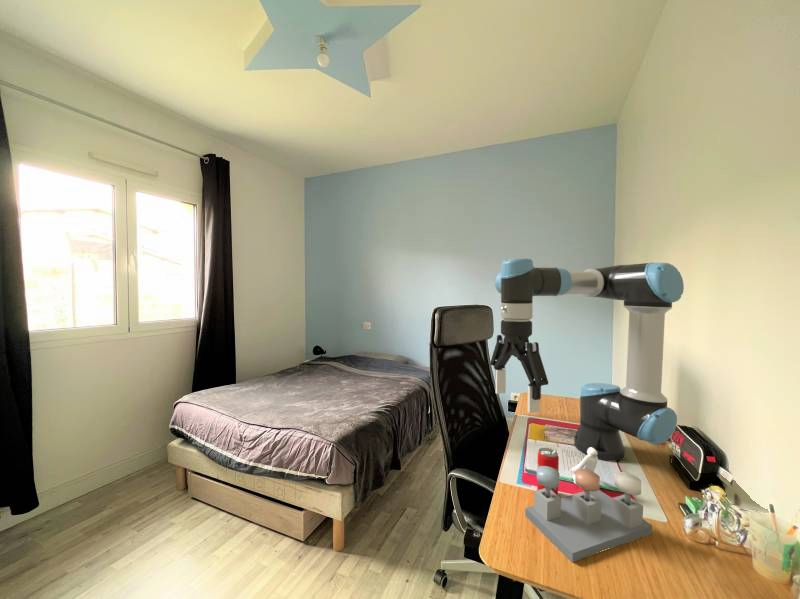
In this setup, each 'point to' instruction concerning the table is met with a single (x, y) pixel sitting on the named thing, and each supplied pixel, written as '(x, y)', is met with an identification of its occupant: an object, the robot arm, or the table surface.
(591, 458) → the figurine
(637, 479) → the ivory button
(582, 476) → the terracotta button
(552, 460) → the beverage can
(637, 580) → the table surface
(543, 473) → the blue-grey rounded knob
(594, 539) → the button board
